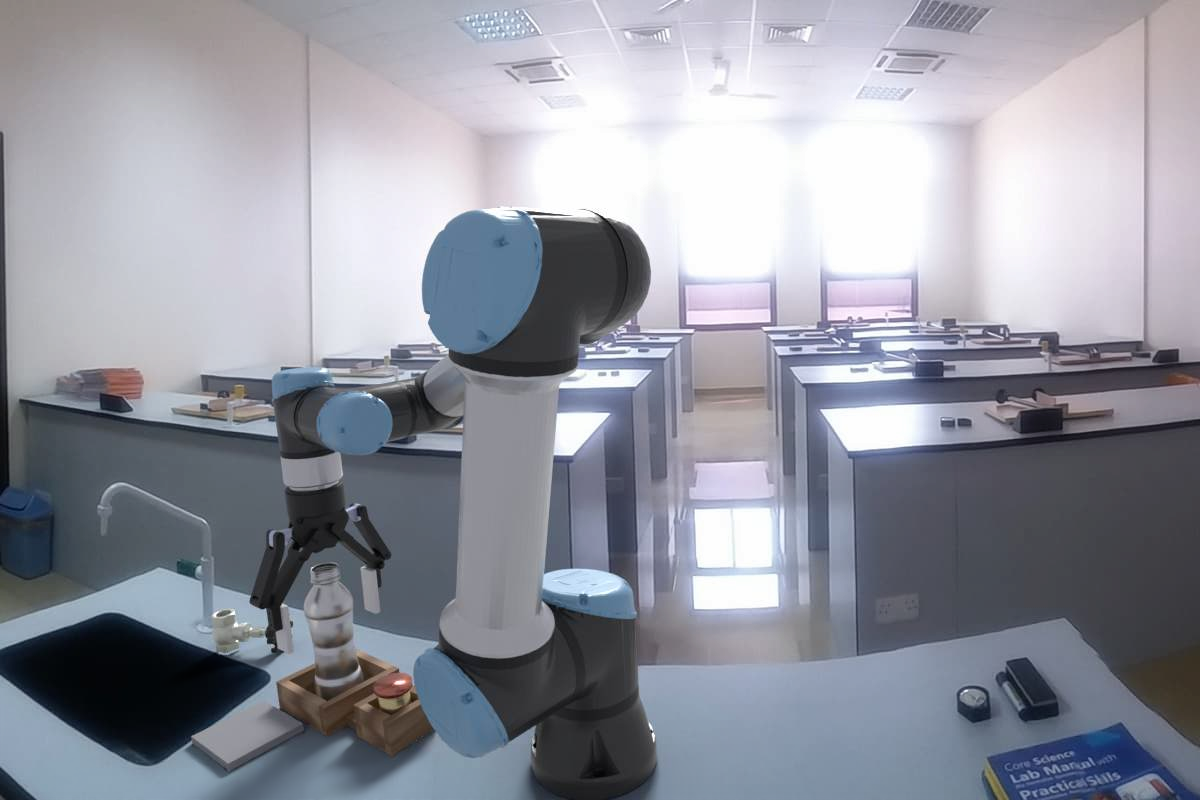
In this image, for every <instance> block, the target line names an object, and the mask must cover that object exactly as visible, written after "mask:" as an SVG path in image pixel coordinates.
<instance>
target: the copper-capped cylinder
mask: <svg viewBox="0 0 1200 800" xmlns="http://www.w3.org/2000/svg"><path fill="white" fill-rule="evenodd" d="M412 685H413V678H412V677H411V675H410V674H408V673H405V672H399V673H392V674H388V675H385V676H383V677H381V678H379V679H378V680H377V681H376V682H375V683H374V693H375V695H376V696H377V697H378V701H379V709H380V710H381V711H383V712H385V713H387V714H389V715H392V714H394V713H396V712H397V711H399V710H401V709H403V708H404V707H406V706H408V705H409V704H411V697H410V689H411V688H412Z"/></svg>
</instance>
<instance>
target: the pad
mask: <svg viewBox="0 0 1200 800" xmlns="http://www.w3.org/2000/svg"><path fill="white" fill-rule="evenodd" d="M304 730H305V729H304V722H302V721H300V720H299V719H297V718H295V717H294V716H292V715H290V714H289V713H287V712H285V711H284V710H283V711H282V709H279V708H278V707H276V706H274V705H273V704H271V703H270V702H267V701H266V700H261V701H260V702H258V703H257V704H254V705H252V706H250V707H248V708H246V709H243V710H242V711H240V712H238V713H236V714H234V715H231V716H230V717H228V718H226V719H223V720H221V721H220V722H218V723H215V724H213V725H212V726H209V727H207V728H206V729H204V730H201V731H200V732H197V733H195V734H193V735H191V737H190V738H191V744H192V745H194V746H196V747H197V748H198V749H199V750H200V751H202V752H203V753H204V754H206V756H208V757H210V758H211V759H213V760H214V761H215V762H217V764H219V765H220V766H222V767H223V768H225V770H227V771H229V772H231V771H232V770H234V769H235V768H237V767H239V766H241V765H243V764H245V763H247V762H249V761H250V760H252V759H254V758H256V757H258V756H259V755H261V754H263V753H265V752H267V751H269V750H270V749H272V748H274V747H276V746H277V745H279V744H282V743H283V742H285V741H287V740H289V739H291V738H293V737H294V736H296V735H298V734H300V733H301V732H303V731H304Z"/></svg>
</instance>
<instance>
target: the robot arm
mask: <svg viewBox="0 0 1200 800" xmlns="http://www.w3.org/2000/svg"><path fill="white" fill-rule="evenodd" d="M650 261H651V259H650V257H649V254H648V250H647V247H646V246H645V244H644V242H643V241H642V239H641V237H640V236H639V234H638V233H637V232H636V230H634V229H633V227H632V226H630V225H629V224H628V223H627V222H625V221H624V220H623V219H621V218H620V217H618V216H616V215H614V214H612V213H610V212H606V211H602V210H598V209H593V208H592V209H588V208H580V209H579V208H578V209H563V208H561V209H558V208H557V209H555V208H535V207H534V208H533V207H532V208H531V207H529V208H528V207H514V206H498V207H495V208H483V209H481V208H480V209H472V210H468V211H465V212H463V213H462V212H461V213H460V214H458V215H456V216H454V217H453V218H452V219H451V220H449V221H447V223H446V225H445V227H444V228H443V229H442V230H441V231H439V232H438V233H437V235H436V236H435V237H434V240H433V242H432V243H431V245H430V248H429V250H428V253H427V255H426V259H425V262H424V266H423V272H422V280H421V300H422V301H421V302H422V307H423V312H424V313H425V314H426V315H429V319H428V321H427V325H428V327H429V330H430V331H431V333H432V334H433V335H434V337H435V338H436V339H437V341H438V342H439V343H440V344H441V345H442V346H444V347H445V348H447V349H448V354H446V355H445V356H444V357H443V358H441V359H440V360H439V361H438V362H436V363H435V364H434V365H432V366H431V367H430V368H429V369H427V370H426V371H424V372H423V373H422V374H421V375H419V376H416V377H412V378H411V377H410V378H406V379H401V380H396V381H395V380H394V381H390V382H382V383H378V384H372V385H365V386H359V387H353V388H345V389H344V388H343V389H341V388H340V389H339V388H335V383H334V382H333V377H332V373H331V371H330V370H329V369H328V368H326V367H323V366H322V367H320V366H309V367H307V366H306V367H297V368H295V367H294V368H289V369H283V370H280V371H277V372H276V373H275V374H274V375H273V376H272V378H271V389H272V393H271V394H272V397H271V398H272V399H271V404H272V405H273V411H274V418H275V427H276V433H277V440H278V448H279V455H280V464H281V465H280V466H281V471H282V479H283V480H282V481H283V484H284V485H285V486H287V487H286V488H285V489H284V496H285V497H284V498H285V507H286V512H287V513H286V514H287V515H288V516H287V517H288V519H289V522H288V526H287V528H284V529H279V530H275V529H272V528H270V529H268V530H267V531H266V534H265V542H266V547H265V551H264V554H263V557H262V558H261V559H262V560H261V562H260V563H261V564H260V566H259V569H258V572H257V576H256V578H255V582H254V585H253V587H252V588H253V589H252V591H251V594H250V597H249V604H250V605H251V606H253V607H256V608H258V609H259V610H265V611H266V617H267V624H268V625H267V627H268V626H269V628H270V629H271V630H273V631H275V632H276V639H277V646H278V649H280V650H282V651H284V653H286V654H287V655H289V654H292V653H294V652H295V649H294V643H293V642H294V641H293V634H292V628H291V625H290V621H291V618H290V611H289V606H288V605H287V604H285V603H283V602H284V601H285V599H286V597H287V595H288V593H289V591H291V588H292V586H293V584H294V582H295V581H296V579H297V577H298V575H299V574H300V571H301V569H302V568H303V565H305V562H306V561H308V560H309V559H310V557H311V556H312V554H313V553H314V554H318V553H320V552H322V551H324V550H325V549H333V548H336V546H337V544H339V545H341V546H342V547H343V548H345V549H346V550H348V551H349V552H350V553H351V554H352V555H354V556H355V557H356V558H357V559H358V560H360V561H361V562H362V563H364V564H365V565H366V566H365V565H364V566H362V567H360V576H361V585H362V586H361V587H362V594H363V603H364V610H366V611H368V612H371V613H372V614H375V615H377V614H379V613H381V605H380V604H381V603H380V596H379V588H382V583H383V582H382V574H381V573H382V572H381V570H383V569H384V568H385V561H388V560H390V559H391V558H392V552H391V551H390V549H389V548H388V546H387V545H386V543H385V541H384V540H383V538H382V537H381V536H380V534H379V532H378V531H377V529H376V528H375V525H373V523H372V521H371V520H370V518H369V513H368V508H367V506H365V505H363V504H359V503H355V502H352V503H351V504H349V507H348V508H346V505H347V499H346V492H345V491H346V490H345V482H344V481H343V480H341V478H342V477H343V476H344V470H343V465H342V456H341V455H343V454H344V455H346V456H347V455H348V456H367V455H371V454H374V453H376V452H377V451H378V450H379V449H381V448H382V447H383V446H384V445H386V443H388V442H393V441H398V440H402V439H405V438H409V437H414V436H418V435H423V434H427V433H431V432H436V431H441V430H450V429H453V428H455V427H458V426H461V425H462V439H461V440H462V442H461V466H460V486H459V487H460V491H459V493H460V494H459V510H458V511H459V516H458V537H457V538H458V540H457V542H458V543H457V559H456V560H457V562H456V563H457V565H456V583H455V584H456V586H455V587H456V589H455V590H456V591H455V598H454V599H452V600H451V601H449V602H448V603H447V605H446V606H445V607H444V608H443V610H442V612H441V613H440V617H439V629H438V630H439V631H438V644H437V645H436V646H434V647H431V648H430V647H429V648H426V649H425V650H424V652H423V653H422V654H420V655H419V656H417V658H416V660H415V662H414V665H413V683H414V684H413V685H414V686H415V689H416V693H417V696H418V699H419V701H420V704H421V706H422V709H423V711H424V713H425V715H426V716H427V718H428V720H429V722H430V724H431V725H432V727H433V728H434V730H433V731H435V733H436V734H437V735H438V737H439V738H440V739H441V740H442V741H443V742H444V743H445V744H446V745H447V746H448V747H449V748H450V749H451V750H452V751H453V752H455V753H456V754H458V755H460V756H462V757H464V758H470V759H476V758H482V757H484V756H486V755H488V754H491V753H492V752H494V751H496V750H498V749H500V748H505V747H506V746H508V744H509V743H510V742H512V741H514V740H515V739H517V738H518V737H520V736H521V735H523V734H525V733H526V732H528V731H529V730H530V729H532V728H534V727H535V728H534V733H533V736H532V739H531V742H530V743H531V744H530V759H531V769H532V773H533V776H534V777H535V778H536V781H537V782H539V784H540V785H541V786H542V787H544V788H545V789H546V790H548V791H550V792H552V793H553V794H555V795H557V796H561V797H563V798H568V799H572V800H607V799H612V798H615V797H618V796H621V795H624V794H627V793H629V792H630V791H633V790H635V789H636V788H638V787H639V786H641V785H642V784H643V783H645V781H647V780H648V778H649V777H650V776H651V775H652V773H653V772H654V770H655V767H656V765H657V761H658V754H657V751H658V749H657V737H656V734H655V731H654V729H653V726H652V724H651V723H650V722H649V720H648V717H647V713H646V711H645V707H644V705H643V702H642V699H641V697H640V690H639V689H640V686H639V659H638V639H637V638H638V637H637V636H638V635H637V618H638V617H637V615H638V613H637V611H636V609H635V601H634V600H635V599H634V592H633V589H632V586H631V585H630V584H629V582H627V581H626V580H625V579H624V578H622V577H620V576H619V575H616V574H615V573H612V572H611V573H610V572H607V571H605V570H600V569H592V568H565V569H564V568H563V569H556V570H552V571H549V572H548V571H547V572H546V573H545V567H546V566H545V565H546V553H547V542H548V527H549V519H550V518H549V515H550V505H551V504H550V503H551V494H552V493H551V492H552V478H553V465H554V454H555V443H556V441H555V440H556V429H557V428H556V427H557V419H558V418H557V417H558V416H557V415H558V406H559V405H558V404H559V395H560V394H559V393H560V392H559V391H560V385H561V383H563V382H564V381H565V380H566V379H567V378H569V377H570V376H571V375H572V374H574V373H576V371H577V369H578V366H579V353H580V346H589V345H592V344H595V343H596V342H598V341H599V340H601V339H603V338H604V337H606V336H608V335H609V334H610V333H613V332H614V331H616V330H618V329H620V328H621V327H622V326H625V325H626V324H627V323H628V322H629V321H630V320H632V319H633V318H634V317H635V316H636V315H637V314H638V313H639V312H640V310H641V309H642V308H643V306H644V303H645V301H646V299H647V297H648V294H649V290H650V286H651V279H652V270H651V269H652V268H651V262H650ZM349 521H352V522H353V525H354V526H355V528H356V529H357V530H358V532H359V533H360V535H361V536H362V538H363V539H364V541H365V543H366V544H367V545H368V547H369V548H370V550H371V551H372V552H371V551H370V550H368V549H367V548H366V547H364V545H362V544H361V543H360V542H359V541H357V539H355V538H354V536H352V535H351V534H350V533H349V532H348V531H347V530H346V527H347V524H348V522H349ZM290 539H291V540H292V541H291V544H290V545H289V546H288V544H289V542H288V541H289V540H290ZM286 546H288V550H287V556H286V557H285V560H284V561H283V557H284V554H285V548H286ZM300 550H301V551H300ZM282 561H283V563H282ZM281 564H282V565H281Z"/></svg>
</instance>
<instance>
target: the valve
mask: <svg viewBox="0 0 1200 800" xmlns="http://www.w3.org/2000/svg"><path fill="white" fill-rule="evenodd" d="M235 610H236V609H233V608H224V609H220V610H217V611H215V612H213V613H212V614H211V623H212V629H211V638H212V641H213V642H214V644H215V649H216V650H215V651H216V653H217V652H223V653H226V652H227V653H228V652H230V651H232V650H235V649H238V648H239V643H246V642H248V641H250V639H251V638H254V639H263V638H264V637H265V638H266V643H267V644H266V645H273V646H274V647H271V648H270V652H271V653H272V654H279V653H280V651H282V650H280V649H278V646H277V639H276V632H275V631H273V630H271V629H270V628H269V626H268V625H267V626H266V628H265V626H253V627H252V625H251V623H250V622H241V623H238V621H237V619H236V617H237V616H236V611H235ZM290 625H291V629H292V628H293V627H294V622H293V620H290Z"/></svg>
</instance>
